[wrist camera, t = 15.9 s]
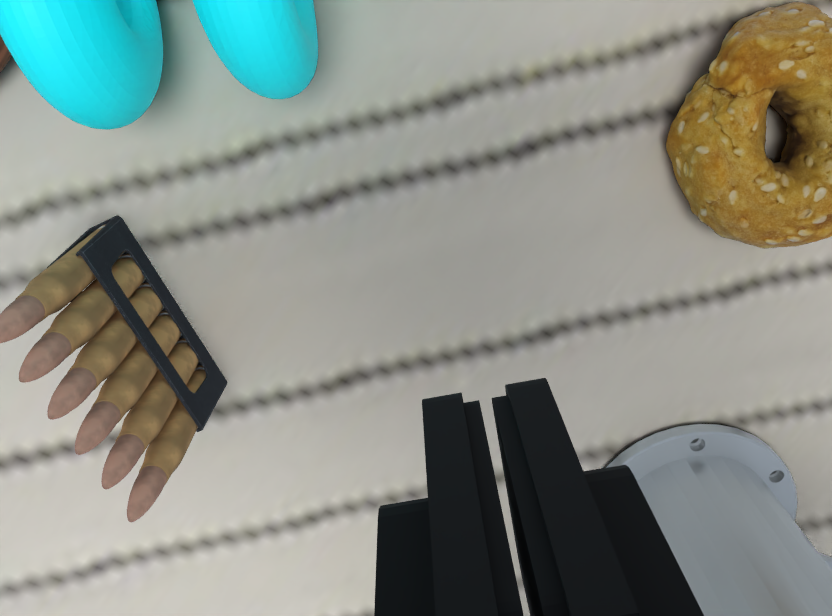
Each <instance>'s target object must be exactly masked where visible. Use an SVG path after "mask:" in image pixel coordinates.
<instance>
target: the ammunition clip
mask: <svg viewBox="0 0 832 616" xmlns="http://www.w3.org/2000/svg"><path fill="white" fill-rule="evenodd" d="M90 283H91V284H90ZM89 284H90V285H89ZM88 285H89V286H88ZM87 286H88V287H87ZM86 287H87V288H86ZM85 288H86V289H85ZM84 289H85V290H84ZM83 290H84V291H83ZM82 291H83V292H82ZM69 302H71V303H70V304H69V305H68V306H67V307H66V308H65V309H64V310H63V311H61V312H60V313H59V314H58V315H57V316H56V318H55V319H54V321H53V323H52V325H51V327H50V328H49V329H48V330H47V331H46V333H45V334H44V335H43V336H42V338H41V339H40V340H39V341H38V342H37V343H36V344H35V345H34V346H33V348H32V349H31V350H30V352H29V353H28V355H27V356H26V358H25V360H24V362H23V364H22V366H21V368H20V372H19V381H20V382H23V383H24V382H30V381H33V380H36V379H38V378H40V377H42V376H44V375H45V374H47V373H49V372H50V371H51V370H53V369H54V368H55V367H57V366H58V365H59V364H60V363H61V362H62V361H63V360H64V359H65V358H66V357H68V356H69V355H70V354H71V353H73V352H74V351H75V350H76V349H77V348H79V347H81V346H83V345H84V344H85V343H87V342H88V341H89V342H88V343H87V344H86V345H85V346H84V347H83V348H82V350H81V351H80V353H79V354H78V356H77V358H76V360H75V363H74V364H73V366H72V367H71V368H70V370H69V371H68V373H67V374H66V376H65V377H64V378H63V379H62V381H61V382H60V384H59V385H58V387H57V388H56V390H55V392H54V393H53V396H52V398H51V400H50V403H49V406H48V418H49V419H57V418H60V417H62V416H64V415H66V414H67V413H69V412H70V411H72V410H73V409H75V408H76V407H77V406H79V405H80V404H81V403H82V402H83V401H84V400H85V399H86V398H87V397H88V396H89V395H90V393H91V392H92V391H93V390H95V389H96V387H97V386H98V385H99V384H100V383H101V382H102V381H103V380H105V379H106V378H107V380H106V381H105V383H104V384H103V386H102V388H101V390H100V392H99V395H98V398H97V400H96V401H95V403H94V404H93V406H92V408H91V410H90V411H89V413H88V414H87V416H86V417H85V419H84V421H83V423H82V425H81V427H80V429H79V431H78V434H77V438H76V442H75V452H76V454H78V455H81V454H84V453H86V452H88V451H90V450H91V449H93V448H94V447H96V446H97V445H98V444H99V443H101V442H102V441H103V440H104V439H105V438H106V437H107V436H108V435H109V433H110V432H111V431H112V430H113V428H114V427H115V425H116V424H117V423H118V422H119V421H120V420H121V418H122V417H123V416H124V415H125V413H126V412H128V411H129V410H130V409H131V410H130V411H129V413H128V414H127V416H126V418H125V419H124V422H123V426H122V430H121V432H120V434H119V436H118V437H117V439H116V442H115V444H114V446H113V447H112V449H111V451H110V453H109V455H108V457H107V459H106V462H105V465H104V468H103V473H102V487H103V488H104V489H109V488H111V487H113V486H114V485H116V484H117V483H119V482H120V481H121V480H122V479H123V478H124V477H125V476H126V475H127V474H128V473H129V472H130V471H131V469H132V468H133V467H134V465H135V464H136V463H137V461H138V459H139V458H140V456H141V455H142V454H143V452H144V451H145V449H146V448H147V446H148V445H149V446H148V448H147V450H146V454H145V459H144V462H143V465H142V467H141V469H140V471H139V475H138V476H137V478H136V480H135V482H134V485H133V487H132V490H131V493H130V496H129V501H128V507H127V518H128V521H129V522H134V521H136V520H137V519H139V518H140V517H141V516H143V515H144V514H145V513H146V512H147V511H148V509H149V508H150V507H151V506H152V505H153V503H154V502H155V500H156V499H157V497H158V496H159V494H160V493H161V491H162V489H163V487H164V485H165V484H166V482H167V481H168V479H169V477H170V476H171V474H172V473H173V472H174V470H175V469H176V468H177V467H178V466H179V464H180V463H181V461H182V459H183V457H184V455H185V453H186V451H187V449H188V447H189V444H190V442H191V440H192V438H193V436H194V434H195V432H196V431H197V432H199V431H201V430H203V428H204V426H205V424H206V422H207V421H208V419H209V417H210V415H211V413H212V411H213V409H214V407H215V405H216V403H217V401H218V400H219V398H220V396H221V394H222V392H223V390H224V388H225V387H226V385H227V381H226V379H225V377H224V376H223V374H222V373H221V371H220V370H219V368H218V367H217V365H216V364H215V362H214V360H213V359H212V357H211V356H210V354H209V353H208V351H207V350H206V348H205V346H204V345H203V343H202V342H201V340H200V339H199V337H198V336H197V334H196V332H195V331H194V329H193V328H192V326H191V325H190V323H189V322H188V320H187V318H186V317H185V315H184V314H183V312H182V311H181V309H180V308H179V306H178V304H177V303H176V301H175V300H174V298H173V297H172V295H171V294H170V292H169V290H168V289H167V287H166V286H165V284H164V283H163V281H162V280H161V278H160V276H159V275H158V273H157V272H156V270H155V269H154V267H153V266H152V264H151V262H150V261H149V259H148V258H147V256H146V255H145V253H144V252H143V250H142V248H141V247H140V245H139V244H138V242H137V241H136V239H135V238H134V236H133V235H132V233H131V231H130V230H129V228H128V227H127V225H126V224H125V222H124V221H123V219H122V218H121V217H119V216H115V217H113V218H111V219H109V220H107V221H105V222H103V223H101V224H99V225H96V226H94V227H92V228H90V229H88V230H87V231H86V232H85V233H84V234H83V235H82V236H81V237H80V238H79V239H77V240H76V241H75V242H74V243H73V244H72V245H71V246H70V247H69V248H68V249H67V250H65V251H64V252H63V253H62V254H61V255H60V256H59V257H58V258H57V259H56V260H55V261H54V262H52V263H51V264H50V265H49V266H48V267H47V269H46V270H44V271H43V272H42V273H40V274H39V275H38V276H37V277H35V278H34V279H33V280H32V281H30V283H29V284H28V286H27V287H26V289H25V291H24V292H23V293H21V294H20V295H19V296H18V297H17V298H16V299H15V301H14V302H12V303H11V304H10V305H9V306H8V307H6V309H5V310H4V311H3V312H2V313H1V314H0V343H3V342H7V341H9V340H12V339H14V338H17V337H19V336H21V335H22V334H24V333H25V332H27V331H28V330H30V329H31V328H33V327H34V326H35V325H36V324H37V323H39V322H41V321H42V320H43V319H45V318H46V317H47V316H49V315H51V314H53V313H55V312H57V311H59V310H61V309H62V308H63V307H65V306H66V305H67V304H68V303H69Z"/></svg>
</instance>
